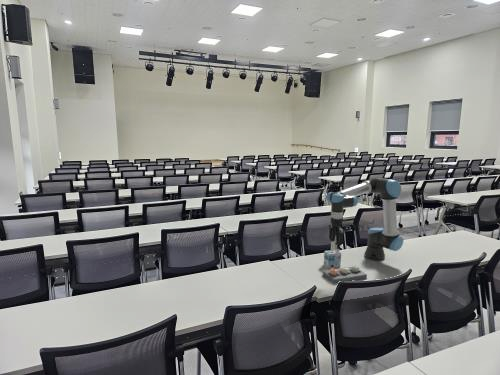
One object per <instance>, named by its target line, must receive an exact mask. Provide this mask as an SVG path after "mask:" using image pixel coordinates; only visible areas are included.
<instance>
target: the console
mask: <svg viewBox="0 0 500 375" xmlns="http://www.w3.org/2000/svg"><path fill="white" fill-rule="evenodd" d="M346 267H347V266H346ZM347 268H349V273H348V274H342V273H341V268H340V267H339V268H336V269H337V270H338V275H337V276H332V275H330V269H329V270H327V269H326V270H323V271H322V276H324V277H325V278H326V279H327V280H329V281H330V282H331V283H333V284H334V285H335V284H337V285H338V284H339V283H338V282H339V281H349V282H353V281H352V280H355V281H361V280H366V279H368V278H367V274H368V273H365V272H364V271H361V269H359V272H358V273H355V272H352V271H351V270H352V266H348V267H347Z"/></svg>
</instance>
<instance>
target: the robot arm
mask: <svg viewBox="0 0 500 375" xmlns="http://www.w3.org/2000/svg"><path fill="white" fill-rule="evenodd" d="M401 192H402V185H401V183H400V182H399V181H398V180H395V179H391V178H390V179H388V178H383V177H375V178H371V179H367V180H364V181H362V182H361V183H359V184H356V185H353V186H350V187H347V188H344V189H342V190H338V191H336V192H335V191H330V192H327V193H326V196H325V200H326V201H327V202H328V203H330V205H331V208H330V209H331V210H330V211H331V212H330V224H329V225H328V227H329V231H328V239H329V240H330V250H331V251H335V254H338V253H339V252H340V250H341V245H342V244H343V240H344V239H343V238H344V232H345V230H344V229H342V225H343V220H344V209H347V208H354V207H356V206H357V205H358V203H359V200H358V197H359V196H361V195H364V194H366V195H369V194H377V195H379V197H380V200H381V201H382V210H383V225H384V226H383V227H371V228H369V229H368V233H367V246H366V248H365V251H364V257H365V258H367V259H369V260H372V261H383V260H385V258H386V254H385V250H384V248H385V249H387V250H390V251H393V252H397V251H399V250H401V248H402V247H403V244H404V238H403V237H402V236H400V230H398V225H397V224H398V222H397V203H396V201H397V199H398V198H399V196H401Z"/></svg>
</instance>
